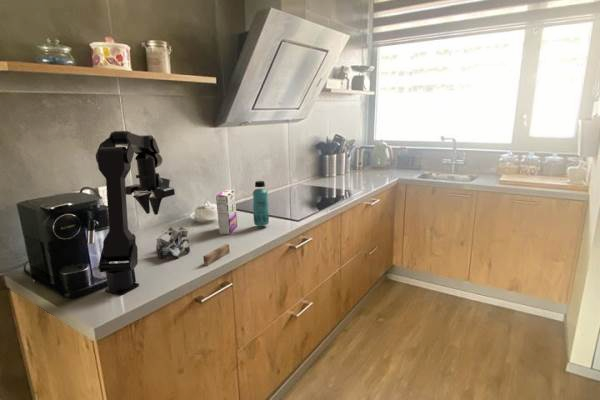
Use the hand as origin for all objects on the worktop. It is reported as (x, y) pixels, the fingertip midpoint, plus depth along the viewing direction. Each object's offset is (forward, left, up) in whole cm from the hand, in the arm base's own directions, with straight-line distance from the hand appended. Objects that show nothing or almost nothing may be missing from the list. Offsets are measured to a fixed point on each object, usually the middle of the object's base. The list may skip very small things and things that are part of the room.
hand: (152, 214), depth 130 cm
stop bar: (0, -28, -13) cm, 31 cm away
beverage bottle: (+36, -24, -13) cm, 45 cm away
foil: (-1, -10, -13) cm, 17 cm away
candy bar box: (+27, -13, -13) cm, 33 cm away
